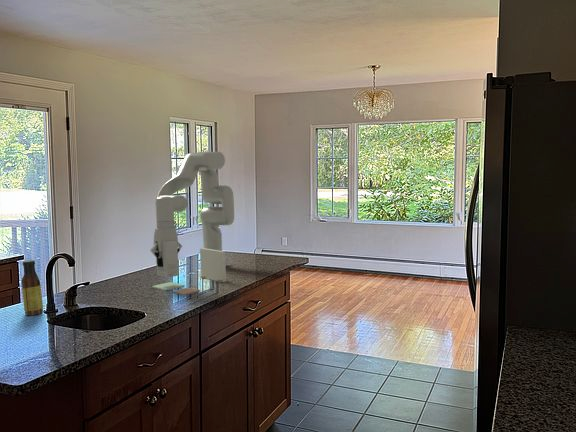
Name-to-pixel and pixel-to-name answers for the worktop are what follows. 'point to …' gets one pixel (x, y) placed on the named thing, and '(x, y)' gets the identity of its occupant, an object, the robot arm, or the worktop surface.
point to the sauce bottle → (31, 289)
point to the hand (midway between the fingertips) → (167, 265)
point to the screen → (213, 265)
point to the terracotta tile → (185, 291)
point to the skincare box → (169, 260)
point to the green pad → (168, 286)
